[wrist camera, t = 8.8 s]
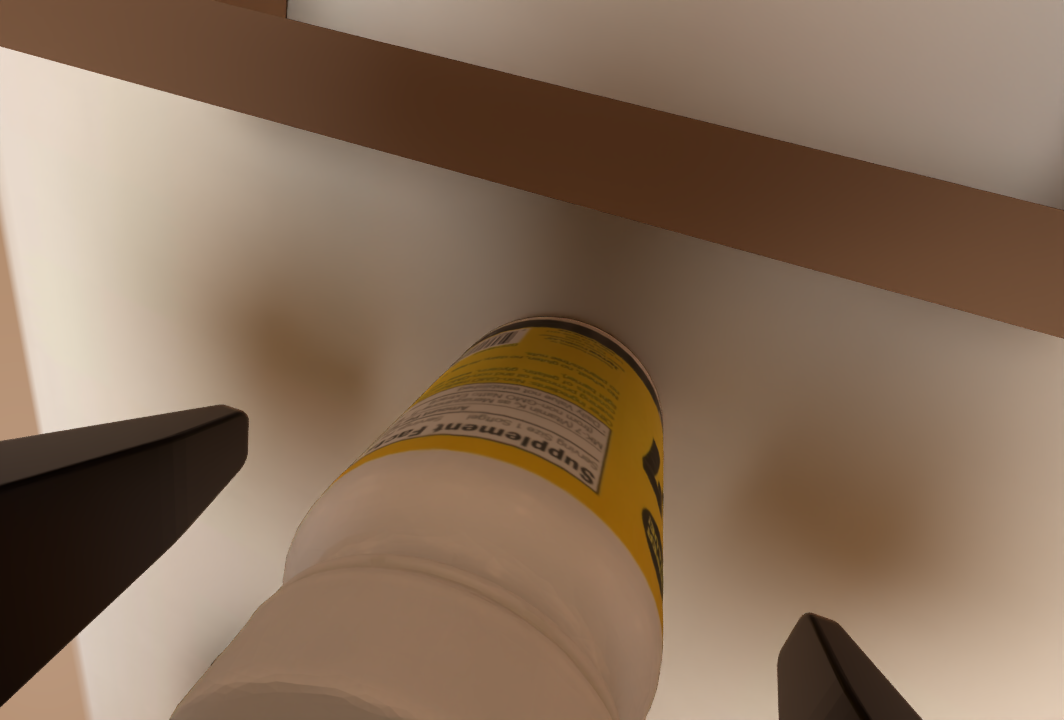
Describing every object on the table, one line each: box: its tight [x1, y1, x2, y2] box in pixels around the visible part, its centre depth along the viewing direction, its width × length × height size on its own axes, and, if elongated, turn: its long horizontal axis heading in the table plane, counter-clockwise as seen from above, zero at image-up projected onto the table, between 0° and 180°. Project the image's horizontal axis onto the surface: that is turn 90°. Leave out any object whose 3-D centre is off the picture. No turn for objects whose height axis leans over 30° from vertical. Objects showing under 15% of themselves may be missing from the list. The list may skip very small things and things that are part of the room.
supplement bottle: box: [170, 317, 664, 720], centre depth 8 cm, size 5×5×8 cm
